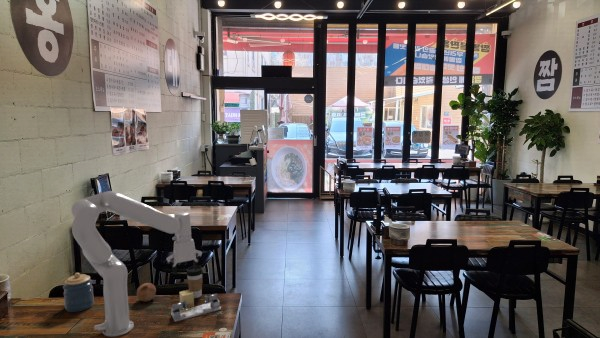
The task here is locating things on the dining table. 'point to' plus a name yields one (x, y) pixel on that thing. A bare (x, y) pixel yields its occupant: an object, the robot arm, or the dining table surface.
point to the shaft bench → (195, 308)
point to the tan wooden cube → (187, 297)
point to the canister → (78, 293)
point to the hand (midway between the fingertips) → (185, 271)
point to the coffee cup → (195, 280)
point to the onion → (146, 292)
